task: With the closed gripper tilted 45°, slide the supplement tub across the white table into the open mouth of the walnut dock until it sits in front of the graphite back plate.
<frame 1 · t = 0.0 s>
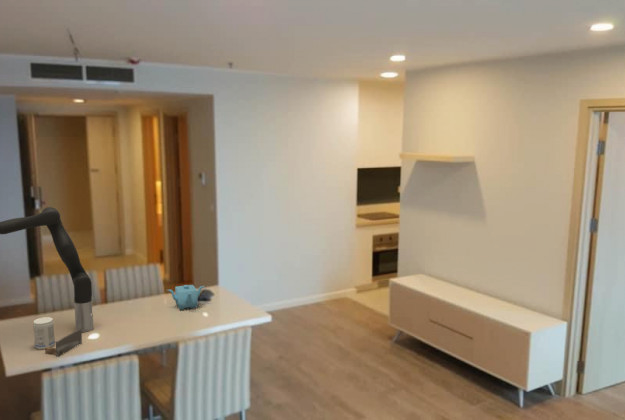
teakettle: (186, 307, 342), on the table
supplement tub: (45, 346, 278), on the table
walnut dock: (59, 348, 276), on the table
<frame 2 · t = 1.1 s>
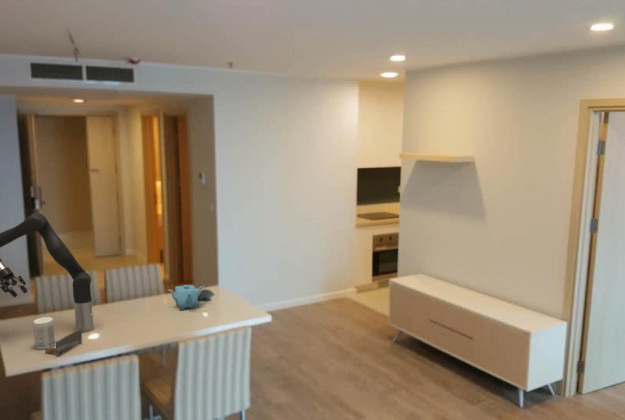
hand: (21, 294, 281), 26 cm above the table, tool tilted 45°, fingers open, 6 cm apart
nothing on the table moved.
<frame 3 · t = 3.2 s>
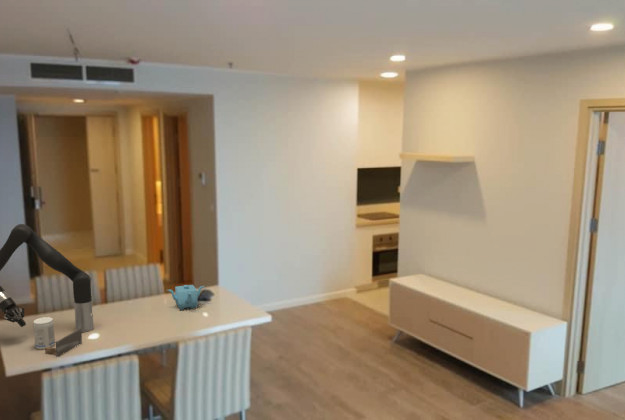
hand: (24, 325, 279), 10 cm above the table, tool tilted 45°, fingers closed
nothing on the table moved.
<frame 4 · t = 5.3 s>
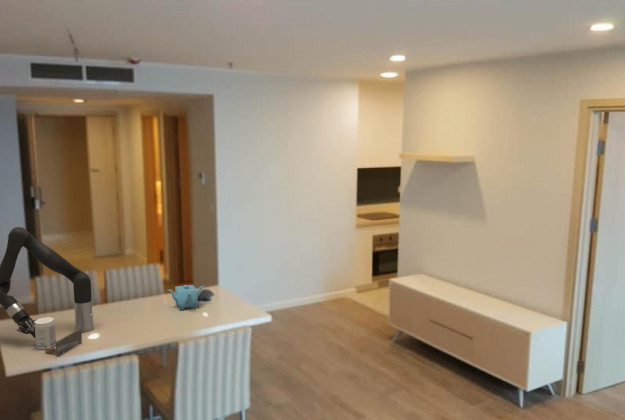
hand: (37, 337, 278), 4 cm above the table, tool tilted 45°, fingers closed
supplement tub: (46, 346, 278), on the table, touching gripper
everything else where it was.
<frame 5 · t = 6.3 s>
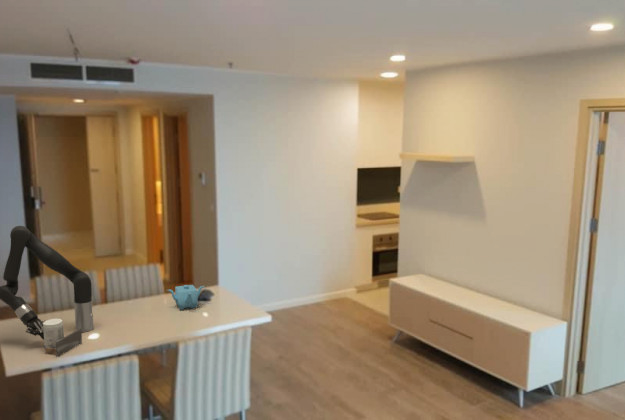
hand: (46, 338, 277), 4 cm above the table, tool tilted 45°, fingers closed
supplement tub: (54, 348, 276), on the table, touching gripper
everything else where it was.
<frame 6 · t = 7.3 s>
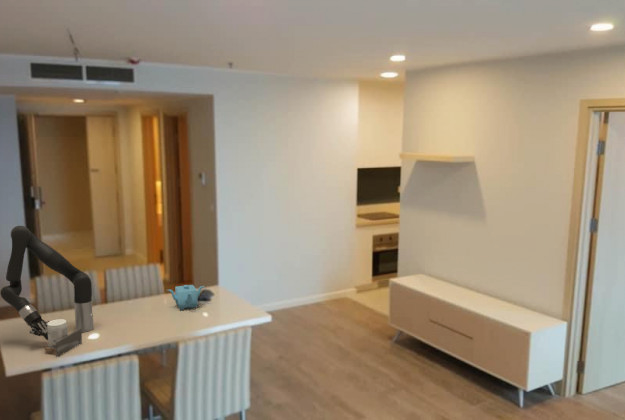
hand: (50, 339, 276), 4 cm above the table, tool tilted 45°, fingers closed
supplement tub: (58, 348, 275), on the table, touching gripper
everything else where it was.
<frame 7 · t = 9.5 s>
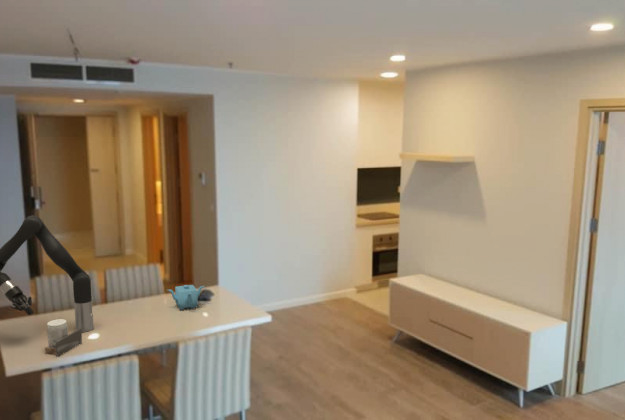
hand: (31, 313, 278), 17 cm above the table, tool tilted 45°, fingers closed
supplement tub: (58, 348, 275), on the table
everything else where it was.
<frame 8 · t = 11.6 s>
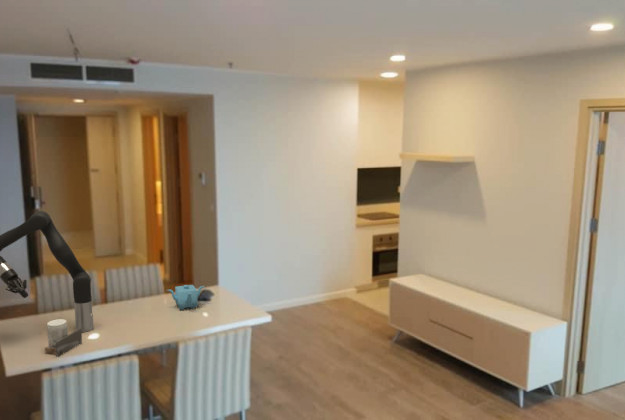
hand: (26, 296, 278), 26 cm above the table, tool tilted 45°, fingers closed
nothing on the table moved.
at the end: supplement tub 0.3 cm from the walnut dock (horizontally); supplement tub tilted 0° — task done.
